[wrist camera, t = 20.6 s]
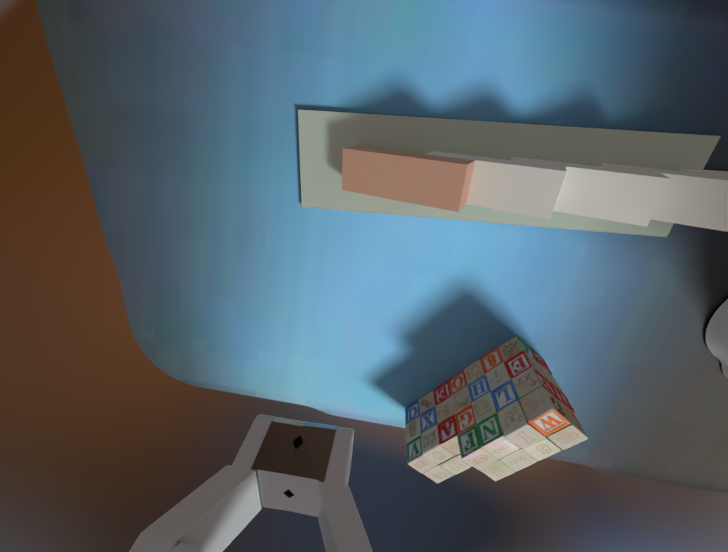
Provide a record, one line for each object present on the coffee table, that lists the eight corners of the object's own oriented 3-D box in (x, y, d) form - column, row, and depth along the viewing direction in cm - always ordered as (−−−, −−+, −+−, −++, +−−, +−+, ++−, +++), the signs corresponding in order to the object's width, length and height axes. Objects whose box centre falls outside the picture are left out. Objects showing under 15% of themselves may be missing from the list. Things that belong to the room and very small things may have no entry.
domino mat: (715, 135, 30) (721, 136, 30) (662, 235, 35) (666, 237, 34) (299, 109, 33) (297, 109, 32) (303, 205, 38) (301, 206, 37)
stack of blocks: (431, 426, 54) (439, 508, 43) (404, 407, 52) (405, 486, 41) (545, 359, 45) (591, 440, 34) (516, 333, 43) (555, 410, 32)
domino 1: (358, 145, 33) (475, 160, 29) (356, 184, 35) (466, 204, 30) (342, 148, 31) (467, 164, 26) (341, 189, 33) (458, 212, 28)
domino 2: (433, 150, 33) (565, 166, 28) (427, 190, 35) (550, 210, 30) (423, 153, 30) (566, 171, 26) (418, 195, 32) (550, 219, 28)
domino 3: (512, 156, 32) (660, 172, 28) (502, 196, 34) (639, 217, 30) (510, 159, 30) (671, 178, 25) (499, 202, 32) (646, 226, 27)
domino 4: (600, 162, 32) (766, 180, 27) (584, 202, 34) (737, 226, 29) (603, 166, 29) (786, 187, 25) (586, 209, 31) (753, 236, 27)
